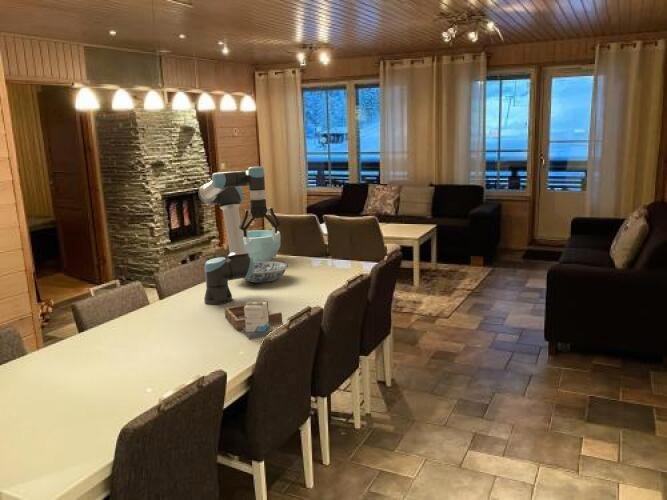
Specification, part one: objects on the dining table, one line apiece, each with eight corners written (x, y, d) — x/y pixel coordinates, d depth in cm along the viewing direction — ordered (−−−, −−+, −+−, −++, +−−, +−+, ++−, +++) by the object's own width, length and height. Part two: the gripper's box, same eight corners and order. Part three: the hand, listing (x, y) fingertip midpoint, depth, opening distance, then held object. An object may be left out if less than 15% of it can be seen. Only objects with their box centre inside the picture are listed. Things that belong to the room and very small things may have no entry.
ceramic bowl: (301, 277, 356) (300, 262, 354) (266, 291, 327) (265, 274, 325) (259, 272, 374) (258, 257, 372) (222, 285, 346) (221, 269, 344)
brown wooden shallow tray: (225, 317, 281) (224, 308, 280) (267, 310, 290) (267, 301, 289) (237, 331, 261) (236, 320, 260) (282, 323, 269) (281, 313, 268)
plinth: (242, 331, 260) (241, 327, 260) (267, 326, 265) (266, 322, 264) (249, 339, 249) (249, 335, 249) (275, 334, 254) (275, 330, 254)
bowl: (238, 260, 415) (235, 230, 411) (285, 258, 414) (283, 229, 409) (227, 271, 381) (225, 239, 376) (279, 269, 379) (277, 237, 375)
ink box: (269, 326, 260) (267, 297, 257) (264, 332, 252) (261, 303, 249) (251, 325, 262) (249, 297, 259) (245, 331, 253) (243, 303, 251)
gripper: (234, 201, 266) (238, 245, 271) (284, 197, 276) (287, 240, 280) (230, 200, 273) (234, 243, 277) (279, 196, 283) (282, 237, 287)
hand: (261, 241), depth 279 cm, fingers open, 13 cm apart
